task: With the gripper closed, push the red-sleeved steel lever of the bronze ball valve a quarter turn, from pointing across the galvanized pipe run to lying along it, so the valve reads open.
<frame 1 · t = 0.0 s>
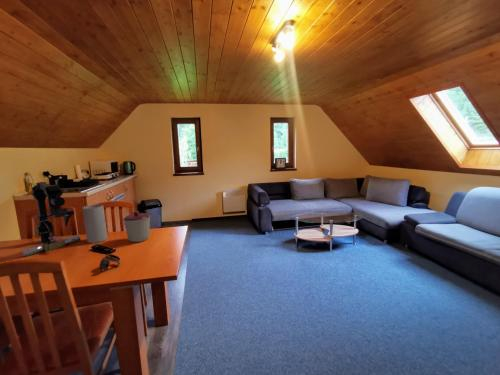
hand: (58, 228, 165), 15 cm above the table, fingers open, 9 cm apart
valve: (53, 248, 170), on the table
dark curved loop: (109, 268, 137), on the table
cylinder vase: (97, 240, 182), on the table
canister: (139, 240, 180), on the table
lever: (55, 239, 166), point 7 cm above the table, hinge at 0.0°
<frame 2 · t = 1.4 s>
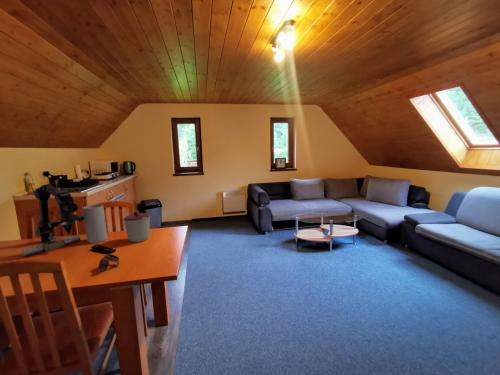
hand: (68, 233, 168), 10 cm above the table, fingers closed
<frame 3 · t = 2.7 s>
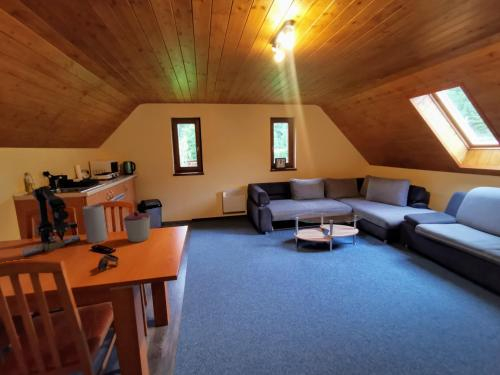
hand: (62, 240, 165), 6 cm above the table, fingers closed
lever: (55, 239, 166), point 7 cm above the table, hinge at 0.3°, touching gripper
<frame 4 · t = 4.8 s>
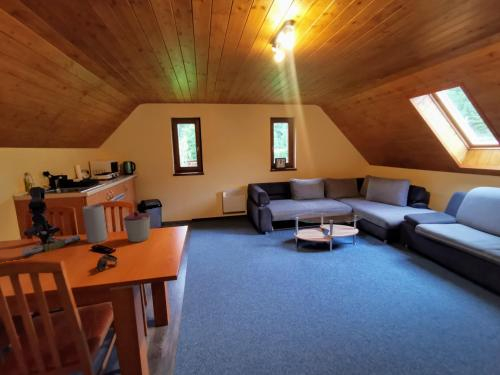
hand: (45, 244, 160), 6 cm above the table, fingers closed
lever: (46, 240, 164), point 7 cm above the table, hinge at 49.7°, touching gripper
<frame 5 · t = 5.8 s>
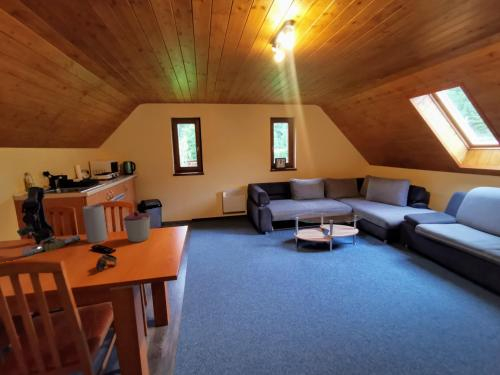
hand: (38, 244, 159), 7 cm above the table, fingers closed
lever: (43, 240, 164), point 7 cm above the table, hinge at 71.7°, touching gripper
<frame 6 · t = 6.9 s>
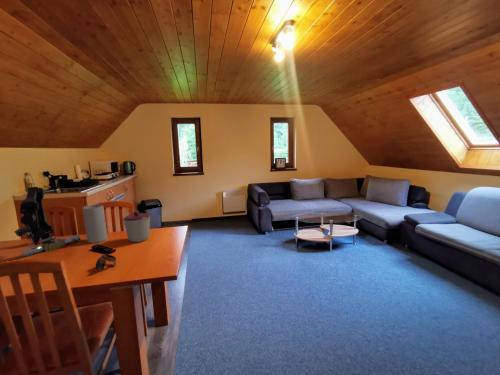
hand: (36, 245, 158), 7 cm above the table, fingers closed
lever: (42, 240, 164), point 7 cm above the table, hinge at 83.2°
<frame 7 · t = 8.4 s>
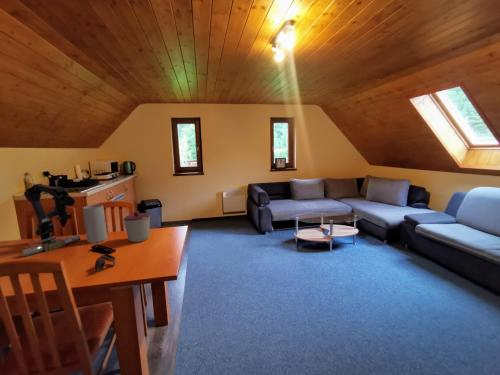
hand: (63, 227, 177), 12 cm above the table, fingers closed
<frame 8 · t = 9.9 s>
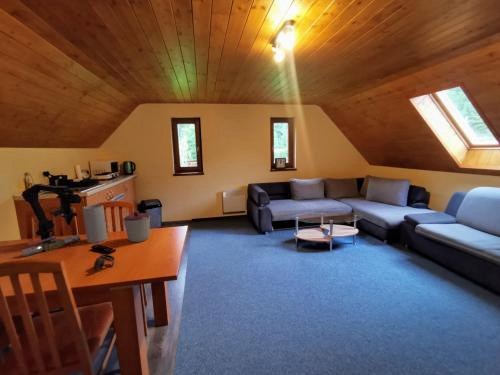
hand: (68, 225, 181), 12 cm above the table, fingers closed
at the end: lever at +83° (first picture: +0°) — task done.
